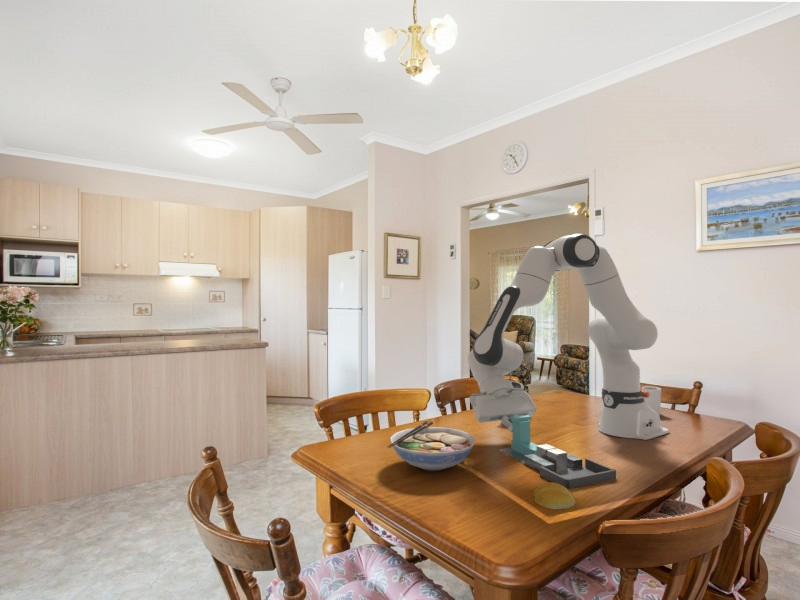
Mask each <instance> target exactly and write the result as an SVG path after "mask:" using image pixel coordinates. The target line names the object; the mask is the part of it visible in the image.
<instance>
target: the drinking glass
mask: <svg viewBox="0 0 800 600" xmlns="http://www.w3.org/2000/svg"><path fill="white" fill-rule="evenodd" d="M642 391H645V392H649V393H650V396H649V398H646V397H643V398H644V402H645V403H646V404H647V405H648V406H650V407H651V408H652V409H653V410H655V411H656V412H657V413H658V414H659V416H661V405H662V404H661V403H662V402H661V400H662V388H661V387H657V386H648V385H647V386H641V392H642Z"/></svg>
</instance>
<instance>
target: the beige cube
mask: <svg viewBox="0 0 800 600" xmlns="http://www.w3.org/2000/svg"><path fill="white" fill-rule="evenodd" d="M537 445H538V444H537ZM551 449H557V447H554V446H553V445H550V444H547V443H545V444H539V445H538V446H537V456H539V457H541V458H543V459H545V460H547V450H551Z"/></svg>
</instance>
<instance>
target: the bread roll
mask: <svg viewBox="0 0 800 600" xmlns="http://www.w3.org/2000/svg"><path fill="white" fill-rule="evenodd" d="M533 496H534V502H535V503H536V504H537V505H539V506H542V507H545V508H547V509H552V510H563V509H564V510H566V509H570V508H572V507H574V506H575V505H576V501H575V498H574V497H573V495H572V493H571V491H570V489H567V488H565V487H564V486H562V485H560V484H558V483H554V482H552V481H551V482H550V481H548V482H544V483H541V484H540V485H538V486H537V487H535V489H534V491H533Z"/></svg>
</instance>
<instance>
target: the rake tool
mask: <svg viewBox="0 0 800 600" xmlns="http://www.w3.org/2000/svg"><path fill="white" fill-rule="evenodd" d="M531 420H532V416H529V415H525V416H517V417H511V421H512V430H513V432H512V439H511V449H513V450H515V451H517V452H519V453H521V454H523V455H531V454H534V455H536V456H537V446H538V444H536V443H534V442H532V441H531Z"/></svg>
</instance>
